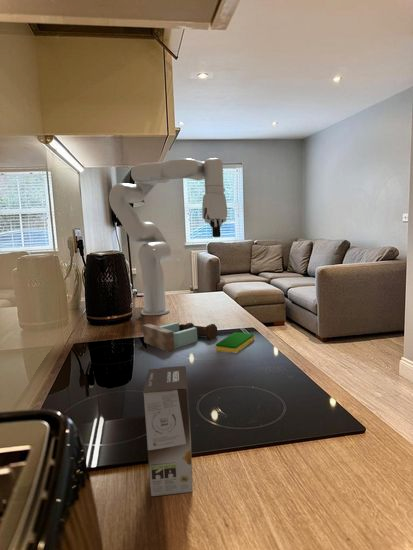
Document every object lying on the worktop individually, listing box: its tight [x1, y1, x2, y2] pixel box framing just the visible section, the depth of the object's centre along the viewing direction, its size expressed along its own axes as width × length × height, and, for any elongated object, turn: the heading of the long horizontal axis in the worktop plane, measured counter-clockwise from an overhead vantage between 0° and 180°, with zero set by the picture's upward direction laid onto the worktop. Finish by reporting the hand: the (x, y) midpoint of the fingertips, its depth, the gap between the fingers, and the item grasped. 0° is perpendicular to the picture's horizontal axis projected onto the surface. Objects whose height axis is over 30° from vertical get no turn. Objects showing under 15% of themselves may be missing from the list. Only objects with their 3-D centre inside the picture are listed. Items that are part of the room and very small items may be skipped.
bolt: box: [179, 322, 219, 341], centre depth 131 cm, size 6×5×15 cm
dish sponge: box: [215, 331, 255, 353], centre depth 120 cm, size 7×14×2 cm, turn 150°
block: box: [159, 321, 198, 349], centre depth 127 cm, size 12×10×4 cm
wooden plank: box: [142, 323, 176, 353], centre depth 122 cm, size 14×2×6 cm, turn 41°
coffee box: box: [142, 365, 193, 497], centre depth 58 cm, size 9×6×16 cm
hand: (216, 236), depth 153 cm, fingers closed
